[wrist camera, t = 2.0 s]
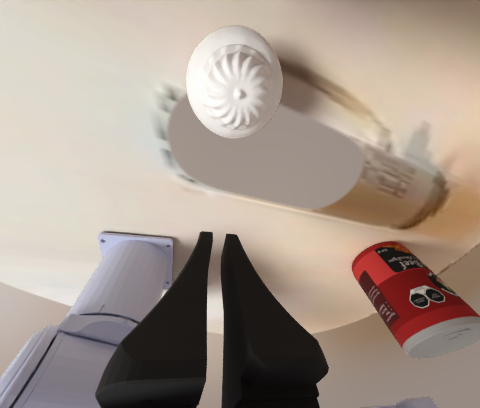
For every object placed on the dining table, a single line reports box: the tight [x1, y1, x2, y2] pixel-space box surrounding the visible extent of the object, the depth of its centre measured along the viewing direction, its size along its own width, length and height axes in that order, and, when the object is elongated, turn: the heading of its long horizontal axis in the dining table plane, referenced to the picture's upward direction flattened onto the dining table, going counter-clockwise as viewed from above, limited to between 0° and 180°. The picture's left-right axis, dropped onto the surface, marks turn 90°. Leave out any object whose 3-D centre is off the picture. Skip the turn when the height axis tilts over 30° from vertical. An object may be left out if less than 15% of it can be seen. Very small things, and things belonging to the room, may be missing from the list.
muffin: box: [186, 26, 283, 139], centre depth 13 cm, size 6×6×7 cm
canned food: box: [352, 242, 480, 358], centre depth 25 cm, size 8×8×11 cm
